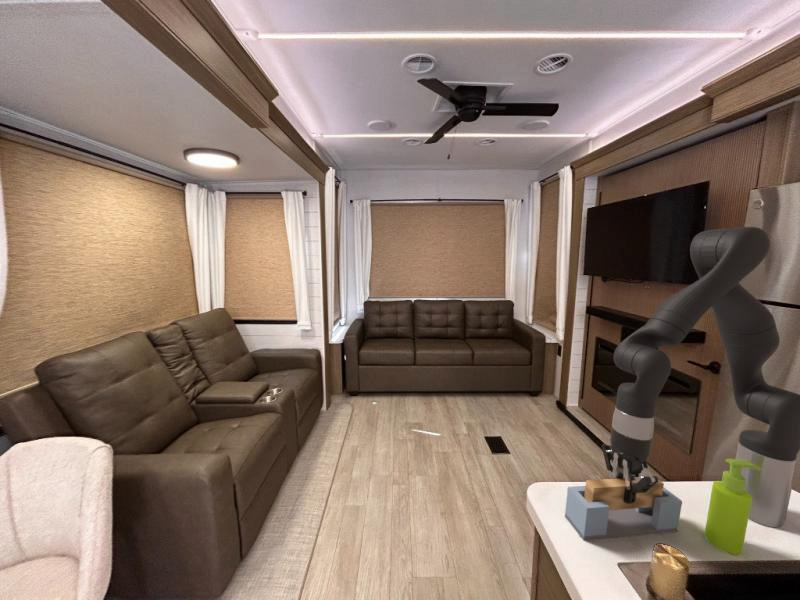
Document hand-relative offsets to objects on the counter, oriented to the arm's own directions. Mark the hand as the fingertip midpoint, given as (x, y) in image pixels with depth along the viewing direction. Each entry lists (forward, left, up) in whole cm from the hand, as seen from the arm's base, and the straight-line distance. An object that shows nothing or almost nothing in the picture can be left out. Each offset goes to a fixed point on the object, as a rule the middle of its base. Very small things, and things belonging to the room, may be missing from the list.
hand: (622, 497), depth 73 cm
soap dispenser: (-20, +7, -7) cm, 22 cm away
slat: (0, 0, -2) cm, 2 cm away
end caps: (0, 0, -7) cm, 7 cm away
